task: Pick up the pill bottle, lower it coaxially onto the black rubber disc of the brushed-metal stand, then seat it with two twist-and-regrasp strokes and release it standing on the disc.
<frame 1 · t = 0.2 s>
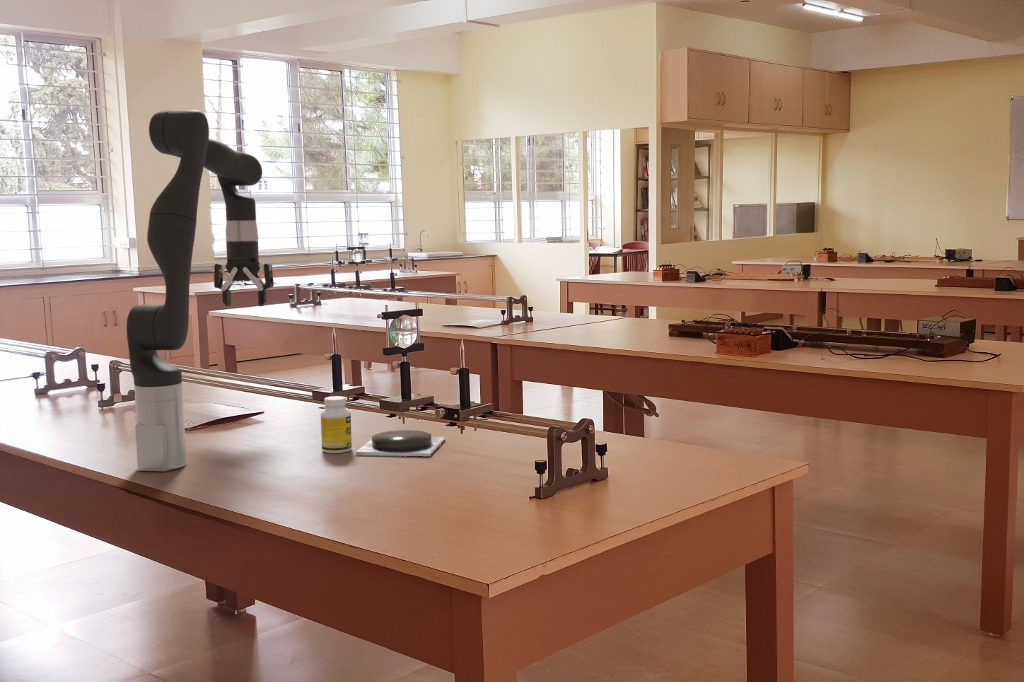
hand: (244, 305, 245), 29 cm above the table, fingers open, 8 cm apart
stand: (401, 447, 219), on the table
pill bottle: (336, 451, 217), on the table
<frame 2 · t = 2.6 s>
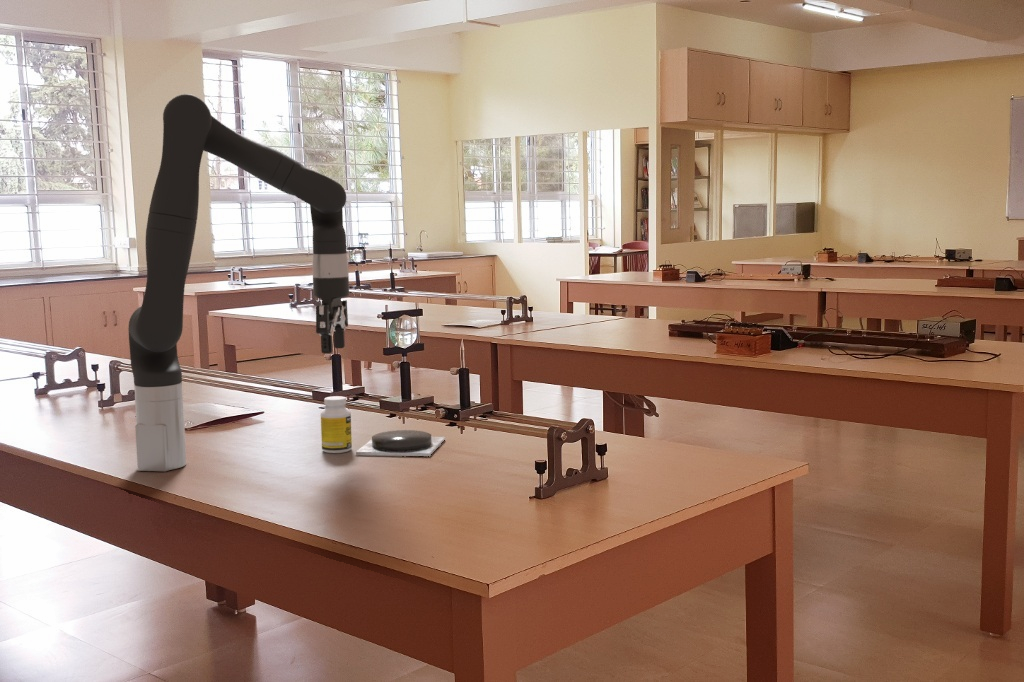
hand: (333, 350, 214), 22 cm above the table, fingers open, 8 cm apart
nothing on the table moved.
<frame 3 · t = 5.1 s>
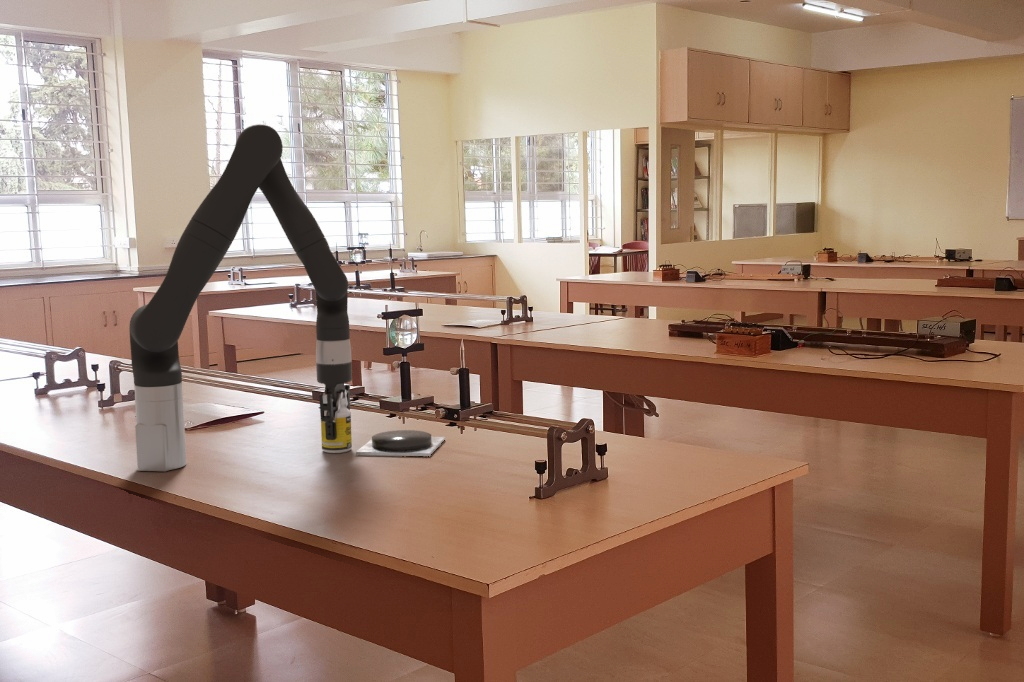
hand: (336, 435, 216), 3 cm above the table, fingers closed on pill bottle, 6 cm apart
pill bottle: (336, 451, 217), on the table, touching gripper
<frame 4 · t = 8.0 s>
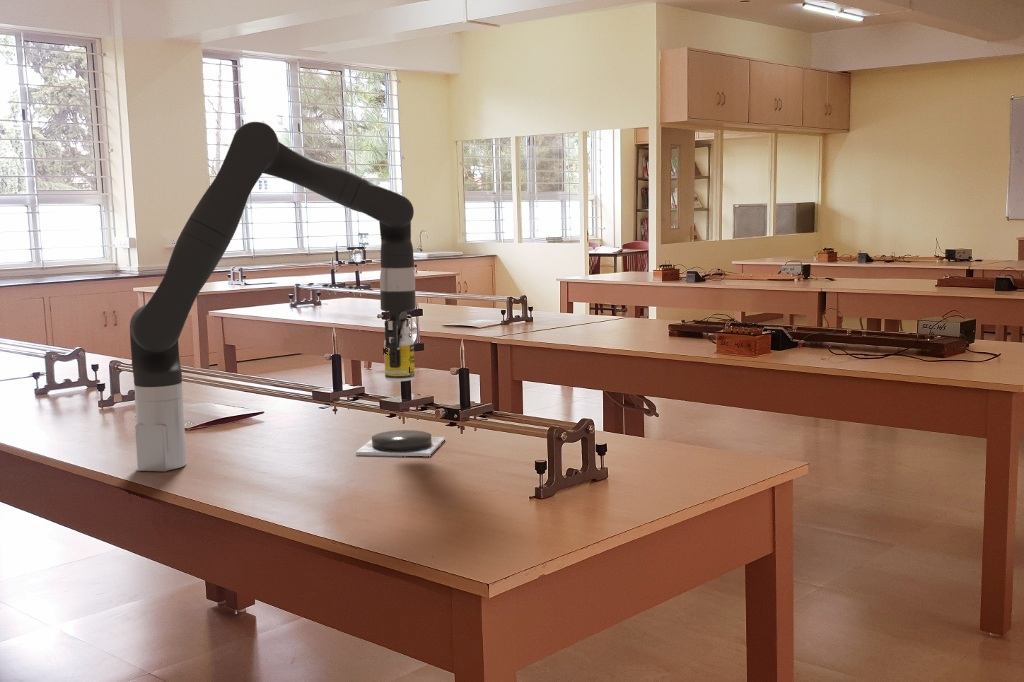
hand: (399, 364, 217), 18 cm above the table, fingers closed on pill bottle, 6 cm apart
pill bottle: (399, 380, 217), point 15 cm above the table, touching gripper
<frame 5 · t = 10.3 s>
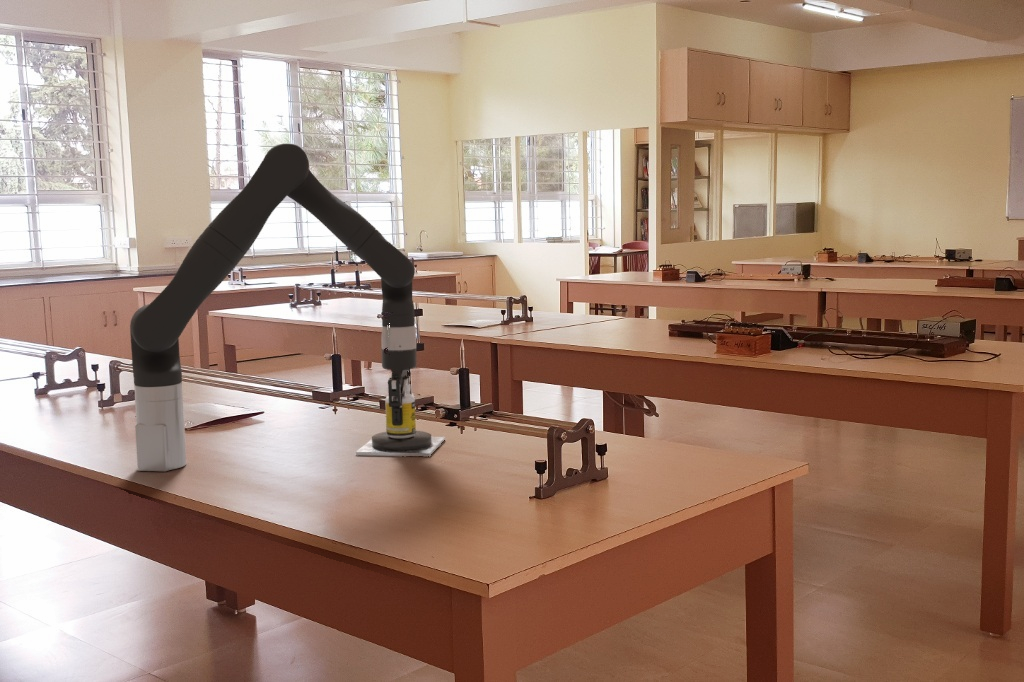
hand: (400, 421, 218), 6 cm above the table, fingers closed on pill bottle, 6 cm apart
pill bottle: (401, 437, 219), point 2 cm above the table, touching gripper
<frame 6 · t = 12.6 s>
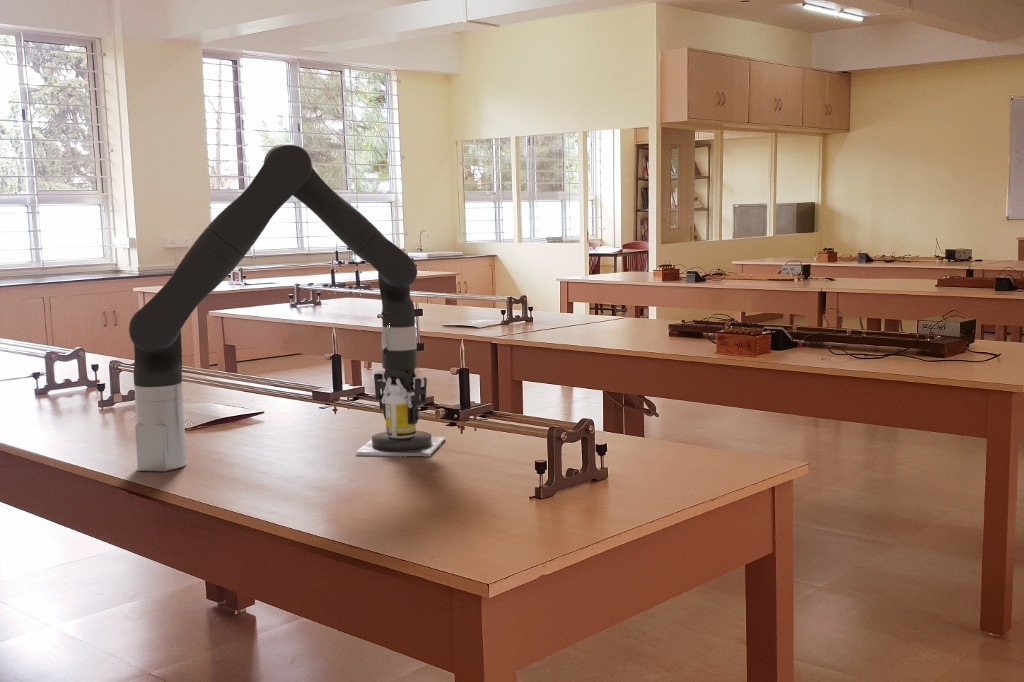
hand: (400, 421, 218), 6 cm above the table, fingers closed on pill bottle, 6 cm apart
pill bottle: (401, 437, 219), point 2 cm above the table, touching gripper, stand
when the fingers open (6 cm above the table, at t = 13.9 s): pill bottle stays where it is, resting on stand.
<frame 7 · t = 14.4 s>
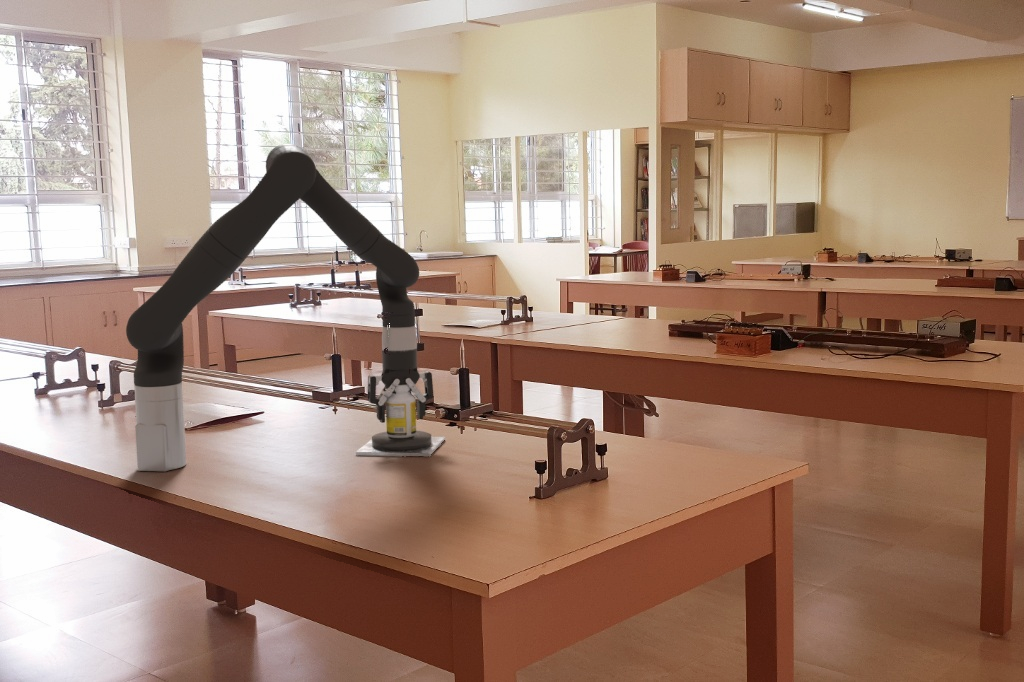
hand: (401, 420, 218), 6 cm above the table, fingers open, 8 cm apart
pill bottle: (401, 436, 219), point 2 cm above the table, touching stand
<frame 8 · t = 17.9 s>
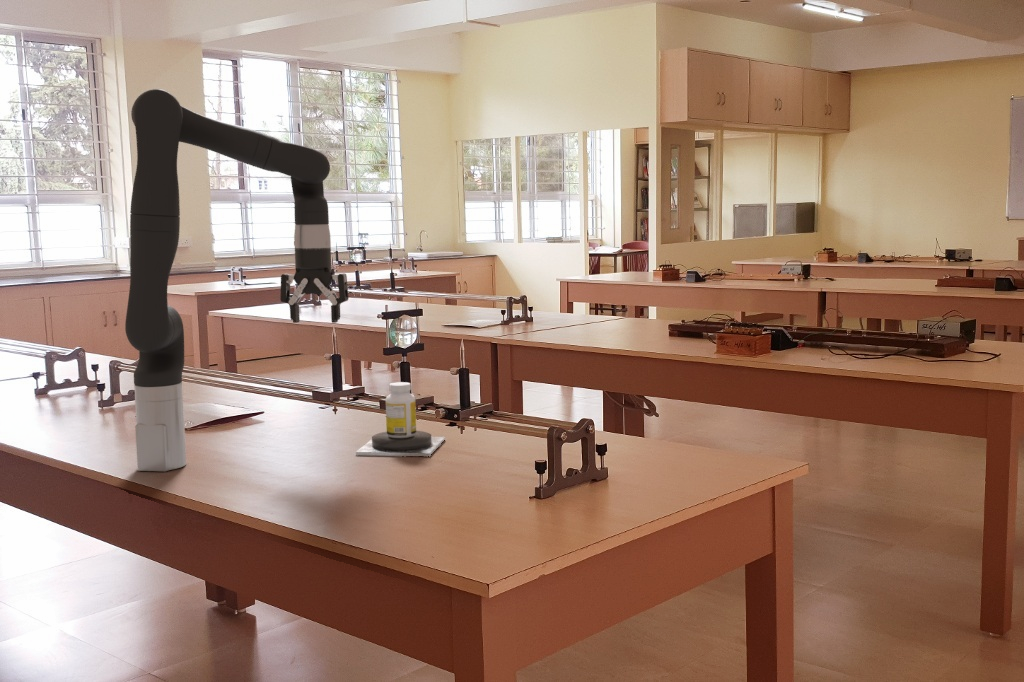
hand: (315, 322, 213), 28 cm above the table, fingers open, 8 cm apart
nothing on the table moved.
at the end: pill bottle 0.6 cm from the stand (horizontally); pill bottle tilted 0°; pill bottle point 2.3 cm above the table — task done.
